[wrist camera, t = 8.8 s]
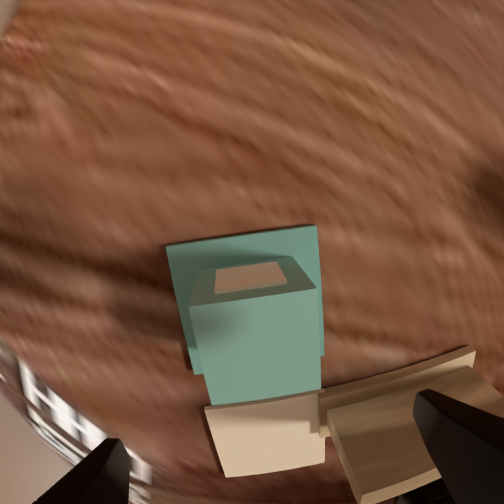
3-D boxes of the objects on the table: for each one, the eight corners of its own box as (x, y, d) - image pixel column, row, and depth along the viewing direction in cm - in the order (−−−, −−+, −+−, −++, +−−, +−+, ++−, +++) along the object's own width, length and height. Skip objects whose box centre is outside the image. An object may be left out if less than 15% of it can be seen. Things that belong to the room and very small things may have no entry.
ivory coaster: (323, 458, 22) (324, 462, 22) (225, 473, 22) (225, 477, 21) (323, 388, 20) (324, 391, 20) (204, 406, 20) (204, 410, 19)
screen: (460, 384, 22) (516, 442, 13) (317, 429, 21) (348, 519, 13) (469, 345, 21) (535, 401, 12) (316, 389, 20) (355, 486, 12)
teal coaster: (322, 352, 19) (324, 355, 19) (194, 370, 19) (194, 374, 19) (314, 224, 17) (316, 225, 17) (166, 245, 17) (165, 247, 17)
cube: (299, 338, 18) (321, 388, 14) (214, 350, 18) (211, 405, 13) (292, 253, 17) (316, 284, 12) (198, 266, 17) (187, 303, 12)
